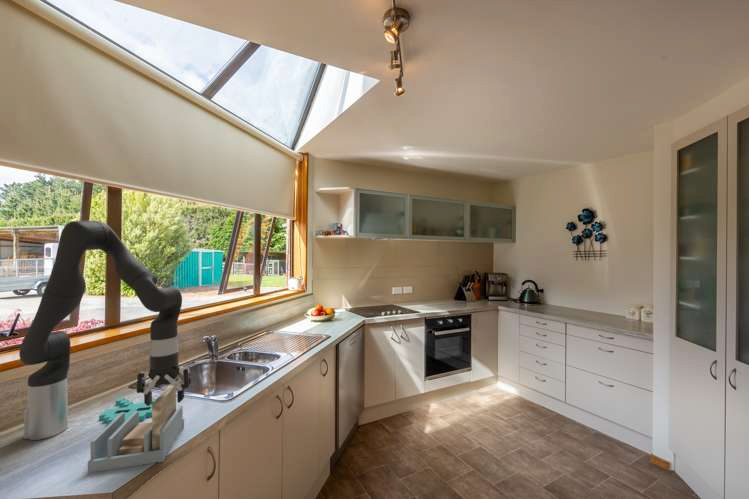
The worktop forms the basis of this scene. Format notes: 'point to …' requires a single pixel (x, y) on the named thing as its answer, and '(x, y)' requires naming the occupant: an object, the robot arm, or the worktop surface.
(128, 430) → the rack
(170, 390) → the light wooden flat slab
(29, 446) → the worktop surface
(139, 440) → the offcut stack
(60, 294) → the robot arm
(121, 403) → the alien figure
